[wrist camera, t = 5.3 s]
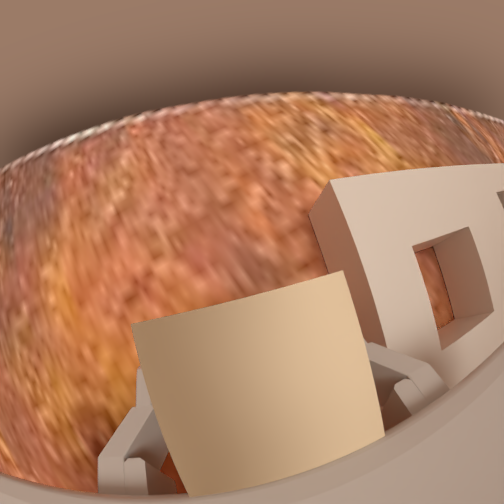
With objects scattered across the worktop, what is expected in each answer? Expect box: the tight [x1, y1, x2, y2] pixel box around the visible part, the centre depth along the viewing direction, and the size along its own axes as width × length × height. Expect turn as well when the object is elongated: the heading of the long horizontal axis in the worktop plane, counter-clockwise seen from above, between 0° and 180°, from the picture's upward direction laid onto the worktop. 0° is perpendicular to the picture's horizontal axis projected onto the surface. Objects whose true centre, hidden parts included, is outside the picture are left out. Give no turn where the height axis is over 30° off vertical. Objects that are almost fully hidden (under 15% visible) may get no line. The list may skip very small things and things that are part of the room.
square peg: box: [131, 270, 385, 497], centre depth 9 cm, size 4×4×10 cm
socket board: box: [308, 163, 504, 411], centre depth 14 cm, size 22×14×4 cm, turn 105°
